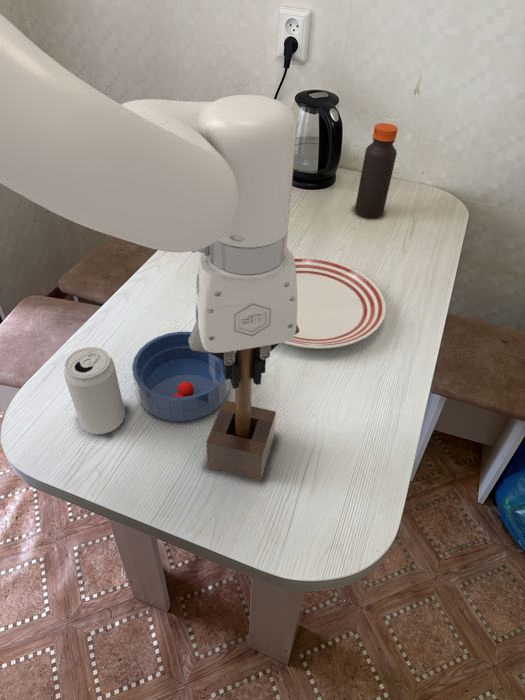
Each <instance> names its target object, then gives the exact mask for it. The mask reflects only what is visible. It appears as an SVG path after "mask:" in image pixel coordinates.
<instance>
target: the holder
mask: <svg viewBox="0 0 525 700" xmlns="http://www.w3.org/2000/svg"><path fill="white" fill-rule="evenodd" d="M276 416H277V411H275V410H270V409H266V408H262V407H257V406H254V405H253V406H252V405H251V425H250V439H246V438H242V437H238V436H235V401H231V400H228V399H225V400H224V401H223V403H222V404H221V405H220V409H219V411H218V413H217V416H216V418H215V419H214V423H213V425H212V427H211V430H210V433H209V434H208V437H207V439H206V459H207V460H206V461H207V469H210V470H212V471H213V470H214V471H217V472H221V473H225V474H229V475H233V476H237V477H240V478H245V479H248V480H253V481H257V482H261V481H262V478H263V476H264V475H263V474H264V472H265V468H266V464H267V462H268V458H269V455H270V451H271V449H272V446H273V445H272V444H273V441H274V438H275V430H276V429H275V426H276Z"/></svg>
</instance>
